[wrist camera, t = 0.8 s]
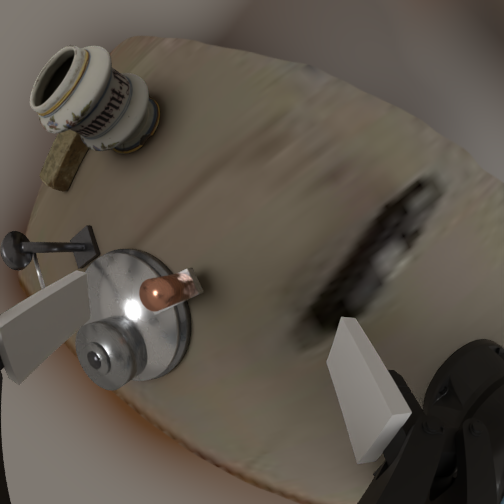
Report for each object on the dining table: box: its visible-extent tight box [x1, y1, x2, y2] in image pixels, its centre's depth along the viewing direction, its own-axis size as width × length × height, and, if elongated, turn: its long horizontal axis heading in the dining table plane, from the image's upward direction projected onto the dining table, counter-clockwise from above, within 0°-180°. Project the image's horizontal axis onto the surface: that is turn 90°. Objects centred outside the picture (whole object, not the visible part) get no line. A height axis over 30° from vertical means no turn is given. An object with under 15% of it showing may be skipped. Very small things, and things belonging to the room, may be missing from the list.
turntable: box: [84, 253, 204, 381], centre depth 29 cm, size 18×22×9 cm
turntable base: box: [105, 249, 191, 379], centre depth 35 cm, size 19×19×2 cm
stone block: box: [40, 129, 89, 191], centre depth 36 cm, size 6×12×5 cm, turn 148°
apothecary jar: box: [30, 46, 160, 154], centre depth 27 cm, size 12×12×18 cm
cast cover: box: [76, 316, 147, 390], centre depth 30 cm, size 9×9×6 cm
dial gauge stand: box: [0, 225, 100, 289], centre depth 30 cm, size 8×5×16 cm, turn 27°
